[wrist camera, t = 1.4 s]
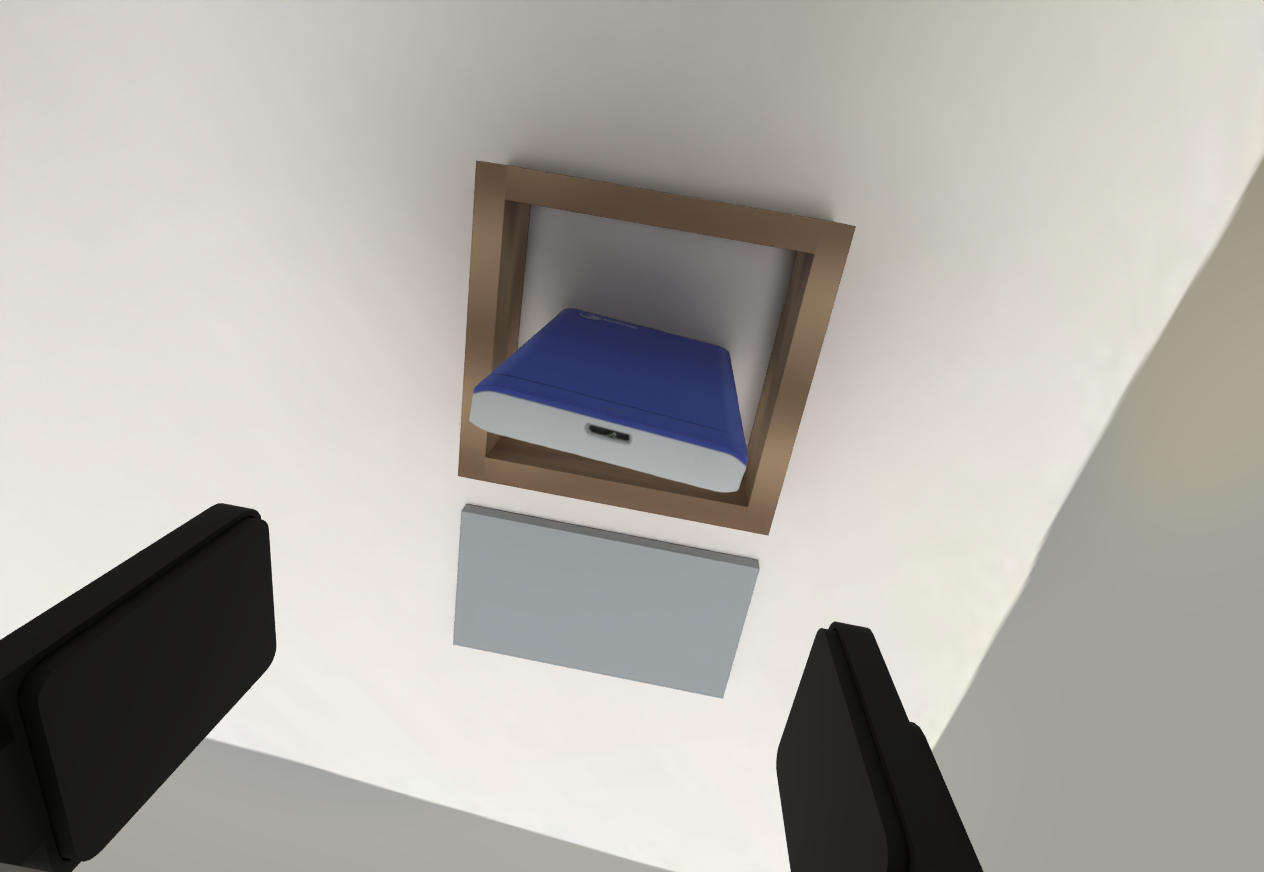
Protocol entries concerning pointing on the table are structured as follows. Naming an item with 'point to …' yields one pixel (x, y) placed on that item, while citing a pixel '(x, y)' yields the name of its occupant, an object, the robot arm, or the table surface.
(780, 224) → the wooden square frame
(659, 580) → the mat
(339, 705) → the table surface
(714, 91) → the table surface
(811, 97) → the table surface
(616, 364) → the hard drive
